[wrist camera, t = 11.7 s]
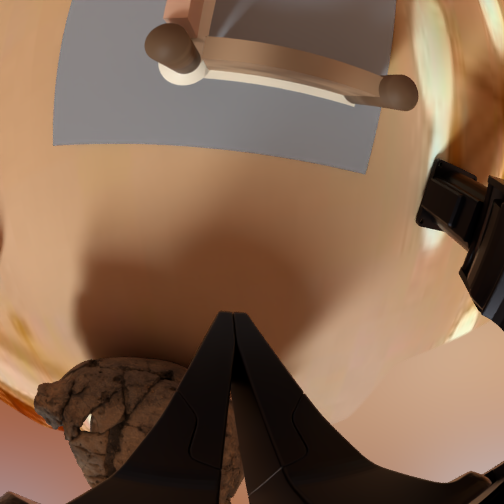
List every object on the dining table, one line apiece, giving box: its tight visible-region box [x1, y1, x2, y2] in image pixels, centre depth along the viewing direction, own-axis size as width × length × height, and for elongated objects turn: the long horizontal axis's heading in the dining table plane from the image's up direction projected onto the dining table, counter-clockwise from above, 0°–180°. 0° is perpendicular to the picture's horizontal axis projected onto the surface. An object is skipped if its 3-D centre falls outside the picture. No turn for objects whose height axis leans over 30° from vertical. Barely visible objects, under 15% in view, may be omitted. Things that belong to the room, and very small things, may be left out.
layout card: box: [53, 0, 396, 174], centre depth 12 cm, size 24×22×1 cm
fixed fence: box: [144, 23, 418, 111], centre depth 13 cm, size 14×2×6 cm, turn 81°
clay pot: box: [34, 357, 245, 504], centre depth 22 cm, size 25×24×22 cm
